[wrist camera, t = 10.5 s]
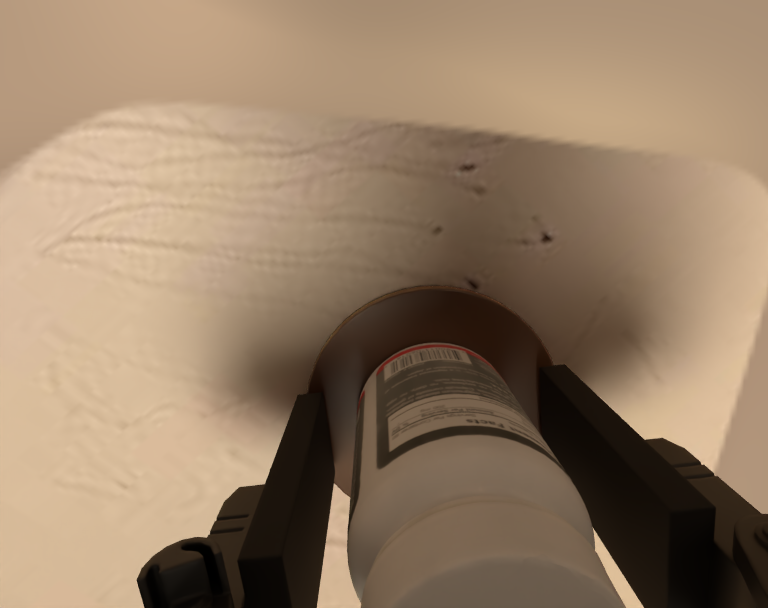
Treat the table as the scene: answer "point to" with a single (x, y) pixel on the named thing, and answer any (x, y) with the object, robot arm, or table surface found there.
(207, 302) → the table surface
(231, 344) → the table surface
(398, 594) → the pill bottle
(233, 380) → the table surface
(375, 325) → the coaster
